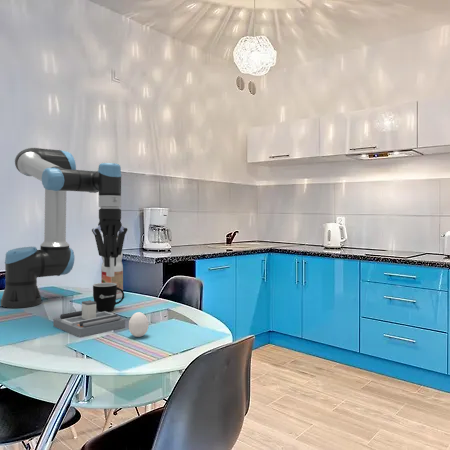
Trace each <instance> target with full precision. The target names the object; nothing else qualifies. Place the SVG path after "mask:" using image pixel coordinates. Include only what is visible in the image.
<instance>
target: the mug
mask: <svg viewBox="0 0 450 450" xmlns="http://www.w3.org/2000/svg"><path fill="white" fill-rule="evenodd" d="M117 290H120V291H121V292H122V298H120V300H118V301H116V300H117V299H116V294H117ZM92 293H93V294H92V296H93V301H94V302H96V308H97V310H98V312H104V311H106V312H109V313H110V312H112V311H113V310H114V309H115V307H116V305H118V304H120V303H122V302H123V301H124V298H125V292H124V289H123V290H122V289H120V288H118V287H117V284H116V283H101V282H99V283H94V284H93V285H92Z"/></svg>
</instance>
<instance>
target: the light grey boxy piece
mask: <svg viewBox="0 0 450 450" xmlns="http://www.w3.org/2000/svg"><path fill="white" fill-rule="evenodd" d="M81 311H82V318H83V319H85V320H87V319H92V318H96V302H94V300H82V301H81Z"/></svg>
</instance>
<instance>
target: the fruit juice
mask: <svg viewBox="0 0 450 450" xmlns="http://www.w3.org/2000/svg"><path fill="white" fill-rule="evenodd" d="M117 238H118V237H117ZM110 257H111V256H110ZM123 257H124V256H123V252H122V253H121V255H118V257H116V266H114V277H109V276H106V267H105V266H104V257H103V256H101V260H102V263H101V268H100V270H101V271H100V273H101V275H100V276H101V280H100V283H116V284H117V287H118V288H120V289H122V290H123V291H124V265H123V261H122V260H123ZM118 299H122V292H121V291H120V290H117V294H116V300H118Z"/></svg>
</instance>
